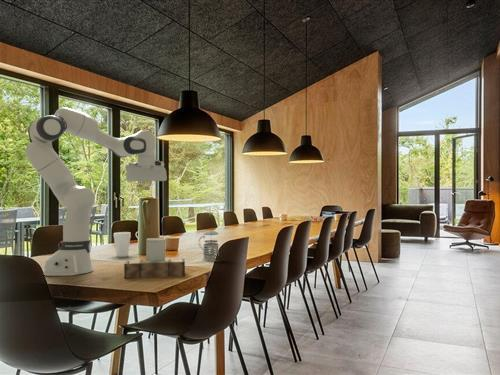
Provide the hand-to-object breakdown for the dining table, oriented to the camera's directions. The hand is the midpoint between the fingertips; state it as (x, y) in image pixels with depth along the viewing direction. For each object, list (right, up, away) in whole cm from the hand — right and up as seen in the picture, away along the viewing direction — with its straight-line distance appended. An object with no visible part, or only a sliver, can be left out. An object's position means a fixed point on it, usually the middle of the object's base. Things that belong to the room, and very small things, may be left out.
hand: (146, 190), depth 216 cm
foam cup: (-20, -38, +26) cm, 50 cm away
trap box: (+12, -37, -32) cm, 50 cm away
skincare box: (+11, -37, -30) cm, 49 cm away
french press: (+31, -37, +11) cm, 50 cm away
